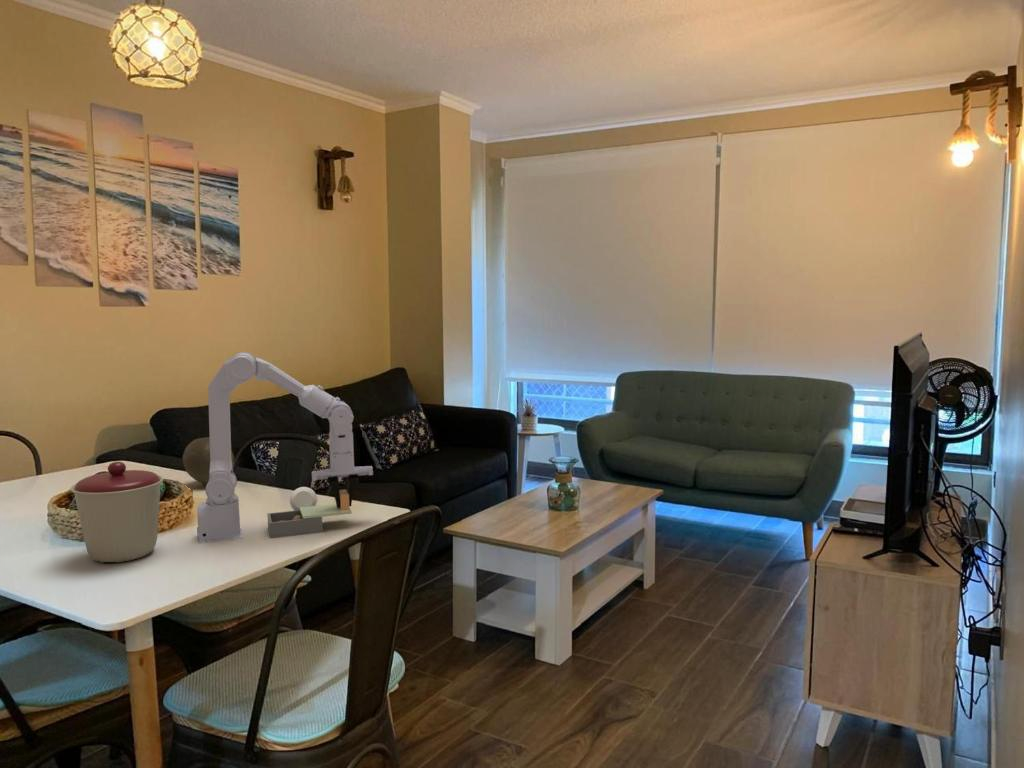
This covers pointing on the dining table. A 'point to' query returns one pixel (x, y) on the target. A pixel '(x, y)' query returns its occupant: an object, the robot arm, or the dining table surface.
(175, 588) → the dining table surface
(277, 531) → the tub
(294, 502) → the supplement bottle
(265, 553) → the dining table surface
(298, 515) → the ball
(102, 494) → the canister
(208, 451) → the cantaloupe
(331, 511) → the lid
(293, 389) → the robot arm
